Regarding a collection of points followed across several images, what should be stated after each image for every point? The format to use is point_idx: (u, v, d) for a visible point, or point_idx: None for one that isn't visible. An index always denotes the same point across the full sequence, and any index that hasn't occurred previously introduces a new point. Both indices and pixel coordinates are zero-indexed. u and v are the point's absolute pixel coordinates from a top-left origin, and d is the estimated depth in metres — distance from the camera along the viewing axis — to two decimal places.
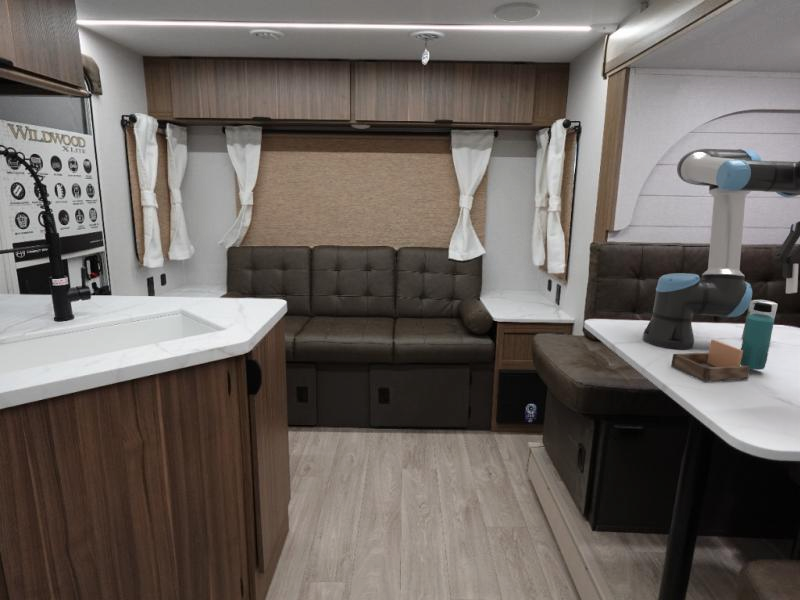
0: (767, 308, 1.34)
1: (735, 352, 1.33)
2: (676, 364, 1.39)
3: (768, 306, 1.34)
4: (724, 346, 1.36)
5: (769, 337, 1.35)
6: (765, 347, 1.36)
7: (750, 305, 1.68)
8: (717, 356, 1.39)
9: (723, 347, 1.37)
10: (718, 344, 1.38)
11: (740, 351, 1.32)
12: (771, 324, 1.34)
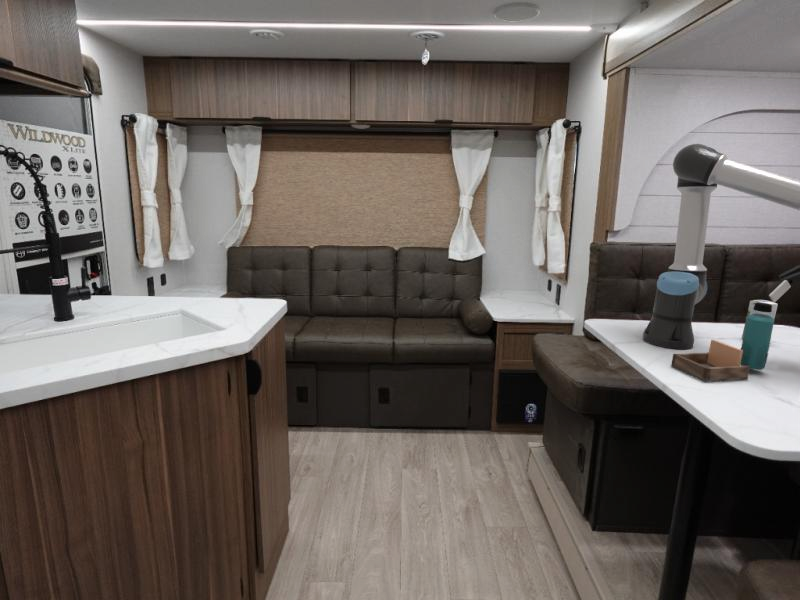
0: (767, 308, 1.34)
1: (735, 352, 1.33)
2: (676, 364, 1.39)
3: (768, 306, 1.34)
4: (724, 346, 1.36)
5: (769, 337, 1.35)
6: (765, 347, 1.36)
7: (750, 305, 1.68)
8: (717, 356, 1.39)
9: (723, 347, 1.37)
10: (718, 344, 1.38)
11: (740, 351, 1.32)
12: (771, 324, 1.34)
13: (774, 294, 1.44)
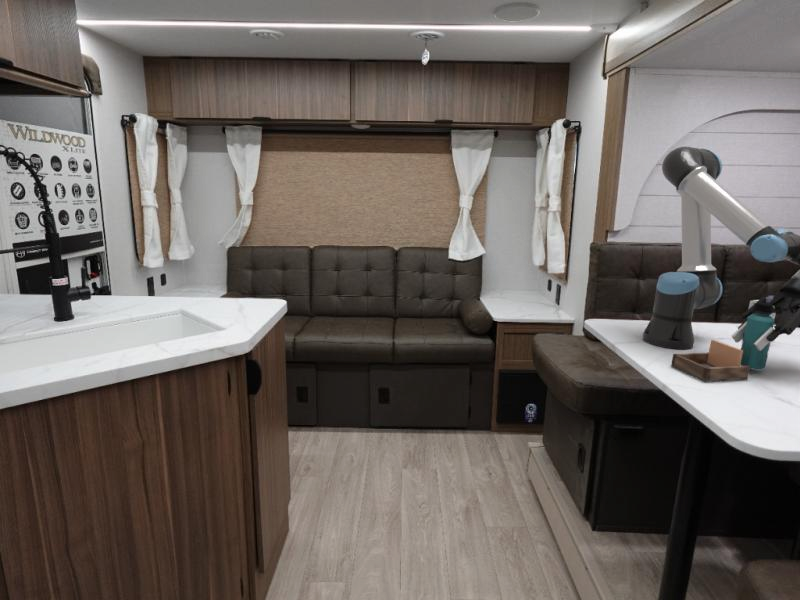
0: (767, 308, 1.34)
1: (735, 352, 1.33)
2: (676, 364, 1.39)
3: (768, 306, 1.34)
4: (724, 346, 1.36)
5: None
6: (765, 347, 1.36)
7: (750, 305, 1.68)
8: (717, 356, 1.39)
9: (723, 347, 1.37)
10: (718, 344, 1.38)
11: (740, 351, 1.32)
12: (771, 324, 1.34)
13: (737, 335, 1.40)
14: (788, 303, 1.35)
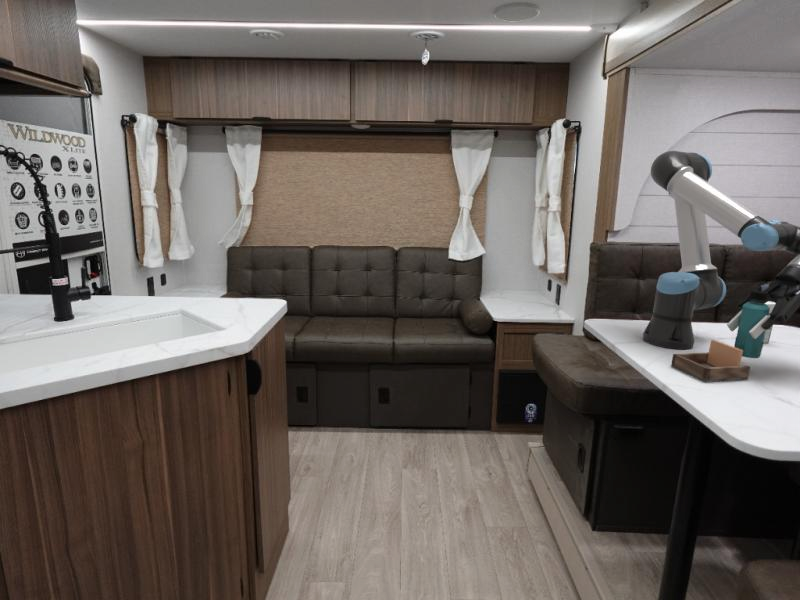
0: (762, 296, 1.33)
1: (735, 352, 1.33)
2: (676, 364, 1.39)
3: (764, 294, 1.33)
4: (724, 346, 1.36)
5: None
6: (760, 335, 1.34)
7: None
8: (717, 356, 1.39)
9: (723, 347, 1.37)
10: (718, 344, 1.38)
11: (740, 351, 1.32)
12: (767, 312, 1.33)
13: (732, 323, 1.39)
14: (783, 291, 1.34)
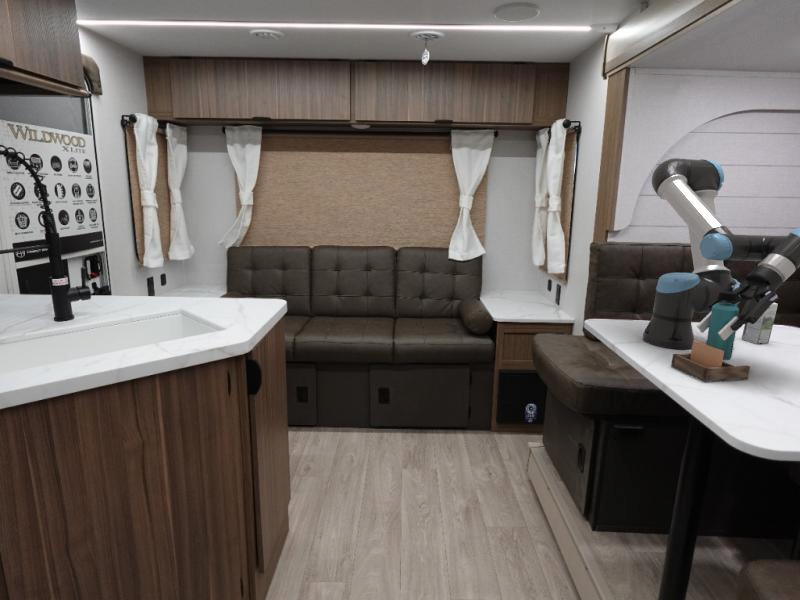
0: (731, 297, 1.31)
1: (716, 353, 1.32)
2: (676, 364, 1.39)
3: (732, 294, 1.30)
4: (706, 347, 1.35)
5: None
6: (730, 337, 1.32)
7: None
8: (699, 357, 1.37)
9: (705, 348, 1.35)
10: (700, 345, 1.37)
11: (721, 352, 1.30)
12: (736, 313, 1.31)
13: (702, 325, 1.37)
14: (753, 291, 1.32)
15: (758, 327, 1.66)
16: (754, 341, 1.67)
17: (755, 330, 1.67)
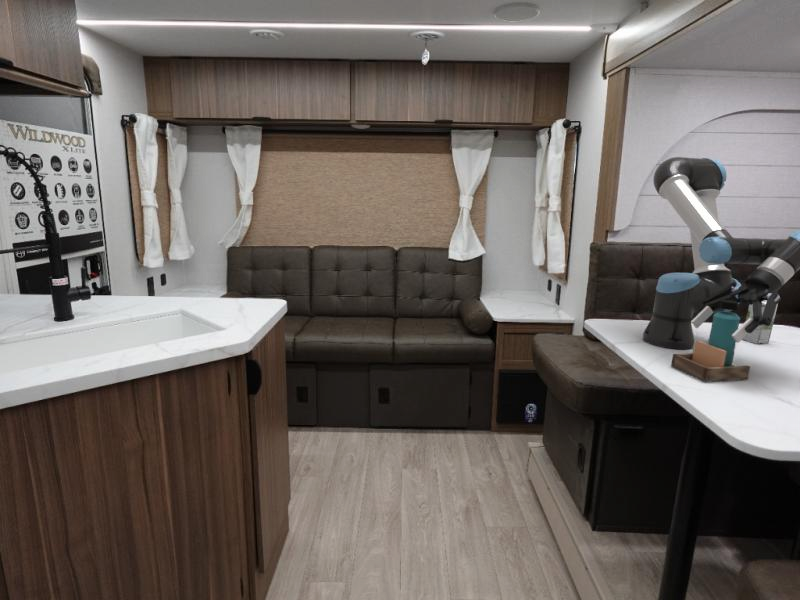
0: (733, 306, 1.32)
1: (718, 353, 1.32)
2: (676, 364, 1.39)
3: (734, 304, 1.31)
4: (708, 347, 1.35)
5: None
6: (732, 345, 1.33)
7: (750, 305, 1.68)
8: (701, 356, 1.37)
9: (707, 348, 1.35)
10: (702, 345, 1.37)
11: (724, 352, 1.31)
12: (737, 322, 1.32)
13: (696, 320, 1.40)
14: (755, 294, 1.31)
15: (758, 327, 1.66)
16: (754, 341, 1.67)
17: (755, 330, 1.67)
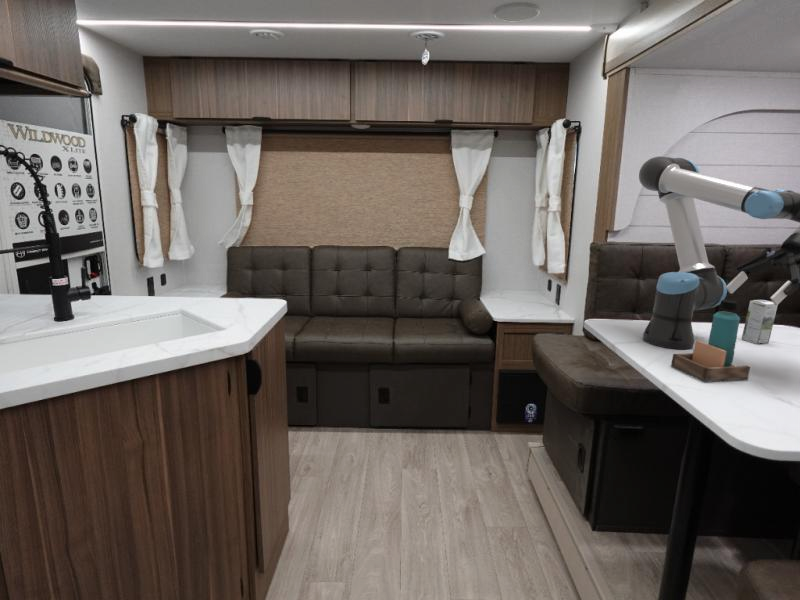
0: (733, 306, 1.32)
1: (718, 353, 1.32)
2: (676, 364, 1.39)
3: (734, 304, 1.31)
4: (708, 347, 1.35)
5: (735, 335, 1.33)
6: (732, 345, 1.33)
7: (750, 305, 1.68)
8: (701, 356, 1.37)
9: (707, 348, 1.35)
10: (702, 345, 1.37)
11: (724, 352, 1.31)
12: (737, 322, 1.32)
13: (731, 286, 1.40)
14: (792, 258, 1.31)
15: (758, 327, 1.66)
16: (754, 341, 1.67)
17: (755, 330, 1.67)
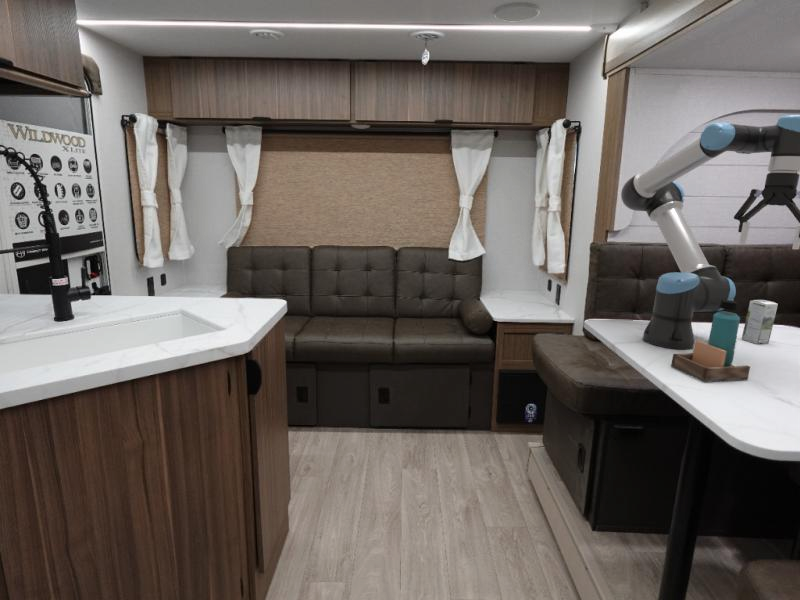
0: (733, 306, 1.32)
1: (718, 353, 1.32)
2: (676, 364, 1.39)
3: (734, 304, 1.31)
4: (708, 347, 1.35)
5: (735, 335, 1.33)
6: (732, 345, 1.33)
7: (750, 305, 1.68)
8: (701, 356, 1.37)
9: (707, 348, 1.35)
10: (702, 345, 1.37)
11: (724, 352, 1.31)
12: (737, 322, 1.32)
13: (743, 240, 1.49)
14: (785, 199, 1.39)
15: (758, 327, 1.66)
16: (754, 341, 1.67)
17: (755, 330, 1.67)
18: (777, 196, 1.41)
